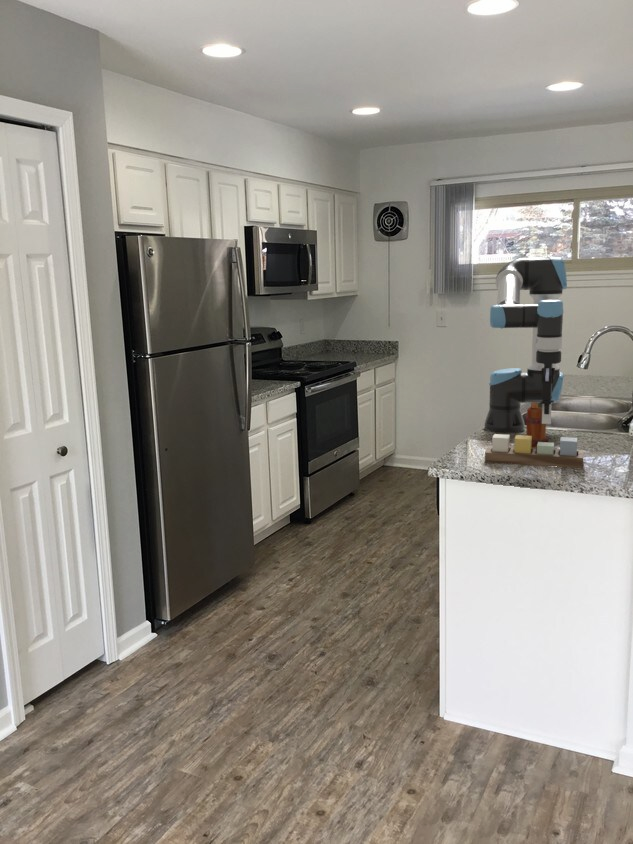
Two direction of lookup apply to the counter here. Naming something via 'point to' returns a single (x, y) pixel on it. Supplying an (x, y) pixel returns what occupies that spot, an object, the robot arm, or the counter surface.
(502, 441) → the key cream
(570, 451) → the key slate
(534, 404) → the orange bottle
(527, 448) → the key mustard
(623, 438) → the counter surface
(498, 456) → the keypad board
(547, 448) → the key sage
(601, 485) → the counter surface
